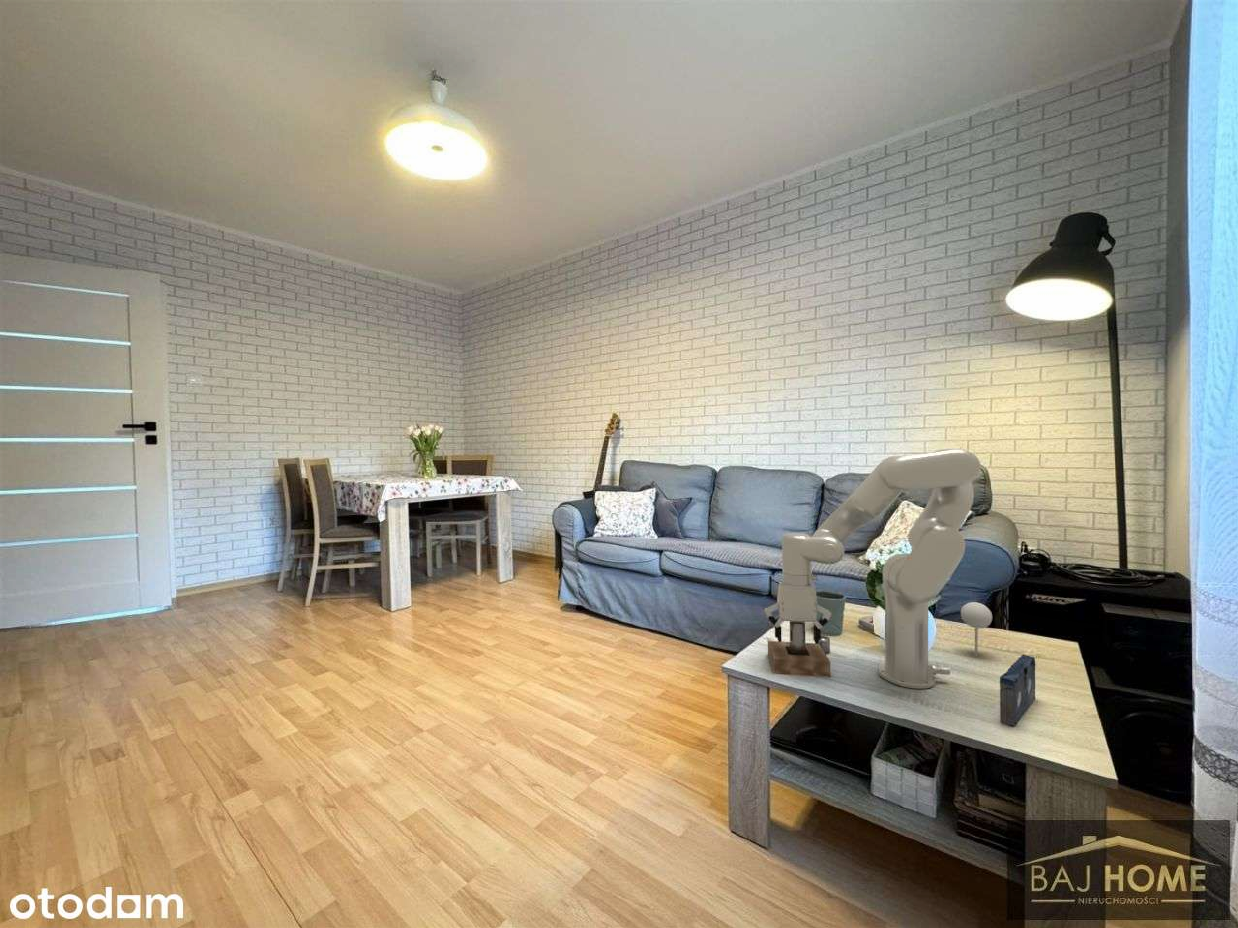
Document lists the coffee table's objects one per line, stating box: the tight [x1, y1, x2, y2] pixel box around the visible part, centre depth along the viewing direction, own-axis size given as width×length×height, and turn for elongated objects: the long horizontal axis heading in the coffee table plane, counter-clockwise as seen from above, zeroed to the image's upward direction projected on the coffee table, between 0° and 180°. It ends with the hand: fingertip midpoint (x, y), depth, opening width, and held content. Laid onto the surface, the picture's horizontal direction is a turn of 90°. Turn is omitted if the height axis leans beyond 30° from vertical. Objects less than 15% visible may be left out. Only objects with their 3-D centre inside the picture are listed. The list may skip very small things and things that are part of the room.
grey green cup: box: [812, 589, 847, 637], centre depth 154 cm, size 10×10×12 cm
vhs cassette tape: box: [999, 654, 1037, 728], centre depth 106 cm, size 18×3×10 cm, turn 127°
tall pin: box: [789, 621, 806, 656], centre depth 130 cm, size 4×4×12 cm
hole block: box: [767, 640, 832, 678], centre depth 130 cm, size 14×12×4 cm
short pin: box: [819, 634, 831, 655], centre depth 139 cm, size 4×4×4 cm
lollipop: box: [960, 601, 993, 657], centre depth 134 cm, size 7×7×15 cm
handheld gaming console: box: [858, 615, 875, 635], centre depth 152 cm, size 9×4×15 cm
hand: (797, 641), depth 130 cm, fingers open, 9 cm apart
